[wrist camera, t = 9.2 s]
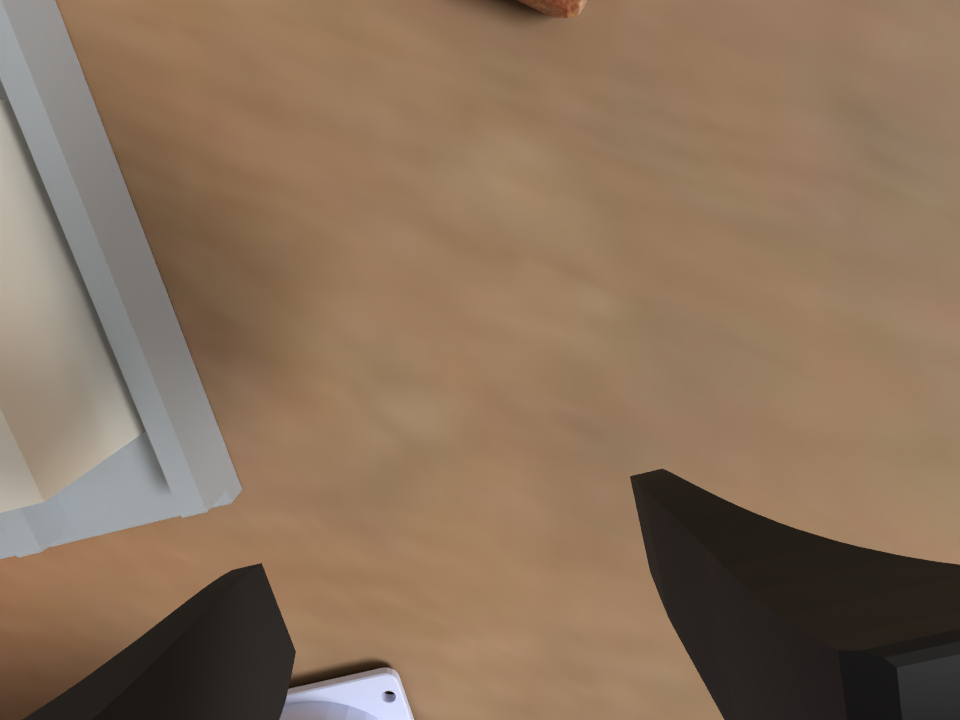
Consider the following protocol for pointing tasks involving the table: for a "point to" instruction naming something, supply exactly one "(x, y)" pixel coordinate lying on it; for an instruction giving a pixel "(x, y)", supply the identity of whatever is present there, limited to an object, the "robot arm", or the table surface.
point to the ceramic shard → (557, 7)
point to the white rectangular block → (49, 345)
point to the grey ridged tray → (108, 306)
